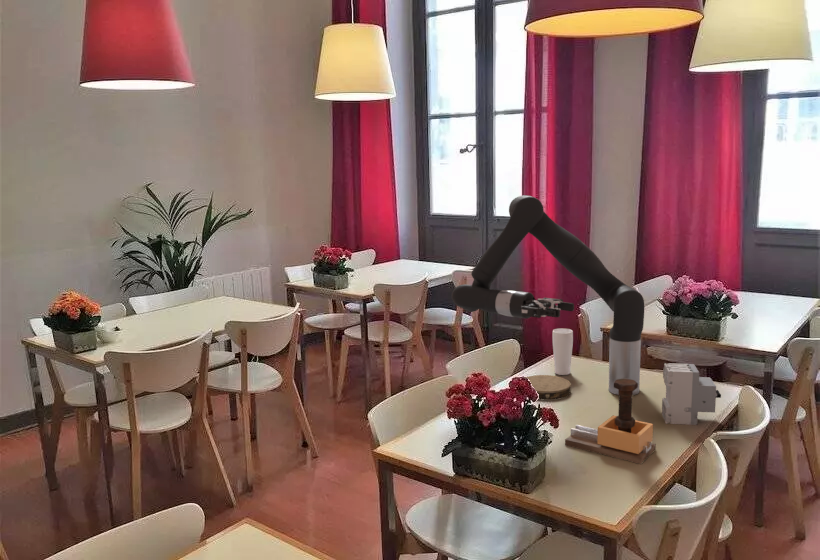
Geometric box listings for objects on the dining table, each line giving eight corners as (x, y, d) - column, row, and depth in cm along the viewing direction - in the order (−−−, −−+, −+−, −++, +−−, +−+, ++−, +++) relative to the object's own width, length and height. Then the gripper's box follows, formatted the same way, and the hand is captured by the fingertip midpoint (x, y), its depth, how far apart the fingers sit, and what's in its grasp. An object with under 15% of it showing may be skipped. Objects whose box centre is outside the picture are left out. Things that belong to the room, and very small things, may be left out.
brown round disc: (516, 384, 229) (516, 375, 229) (564, 382, 229) (564, 374, 229) (524, 401, 213) (524, 392, 213) (576, 399, 214) (576, 390, 213)
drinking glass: (552, 376, 235) (552, 333, 233) (552, 370, 242) (552, 328, 239) (573, 376, 234) (573, 333, 231) (572, 370, 241) (572, 328, 238)
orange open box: (612, 431, 182) (612, 415, 182) (652, 440, 176) (653, 423, 175) (597, 444, 175) (597, 427, 174) (638, 454, 169) (639, 436, 168)
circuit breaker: (721, 425, 189) (723, 373, 187) (665, 423, 192) (667, 371, 190) (714, 415, 197) (717, 364, 194) (661, 413, 200) (663, 363, 197)
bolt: (608, 436, 177) (609, 379, 174) (624, 432, 179) (626, 376, 176) (624, 444, 172) (625, 386, 169) (640, 440, 174) (641, 383, 171)
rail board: (581, 432, 188) (581, 426, 188) (655, 449, 176) (655, 444, 176) (565, 444, 181) (565, 439, 180) (640, 464, 168) (641, 458, 168)
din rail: (576, 430, 186) (576, 424, 185) (651, 448, 173) (651, 441, 173) (570, 435, 183) (570, 428, 183) (646, 453, 171) (646, 446, 170)
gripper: (502, 295, 195) (554, 301, 185) (527, 287, 206) (578, 292, 196) (502, 321, 196) (554, 329, 186) (527, 311, 207) (577, 318, 197)
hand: (566, 310), depth 191 cm, fingers open, 8 cm apart
